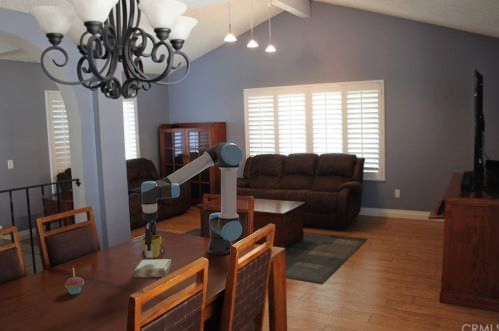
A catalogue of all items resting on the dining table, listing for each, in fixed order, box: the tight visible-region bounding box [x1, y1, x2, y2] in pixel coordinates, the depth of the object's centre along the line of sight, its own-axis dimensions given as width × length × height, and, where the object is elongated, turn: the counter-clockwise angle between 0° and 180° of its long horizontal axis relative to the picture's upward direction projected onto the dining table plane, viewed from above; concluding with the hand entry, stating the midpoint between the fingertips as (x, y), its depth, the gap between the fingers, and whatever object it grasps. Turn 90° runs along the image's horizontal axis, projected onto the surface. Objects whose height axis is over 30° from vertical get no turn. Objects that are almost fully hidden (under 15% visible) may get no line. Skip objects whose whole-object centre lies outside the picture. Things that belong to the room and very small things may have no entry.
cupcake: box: [64, 265, 85, 295], centre depth 202 cm, size 9×8×12 cm
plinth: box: [133, 258, 172, 278], centre depth 227 cm, size 16×16×4 cm
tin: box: [141, 243, 166, 260], centre depth 244 cm, size 15×3×8 cm, turn 143°
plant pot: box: [140, 234, 163, 258], centre depth 225 cm, size 10×10×10 cm
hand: (152, 253), depth 226 cm, fingers closed on plant pot, 10 cm apart
